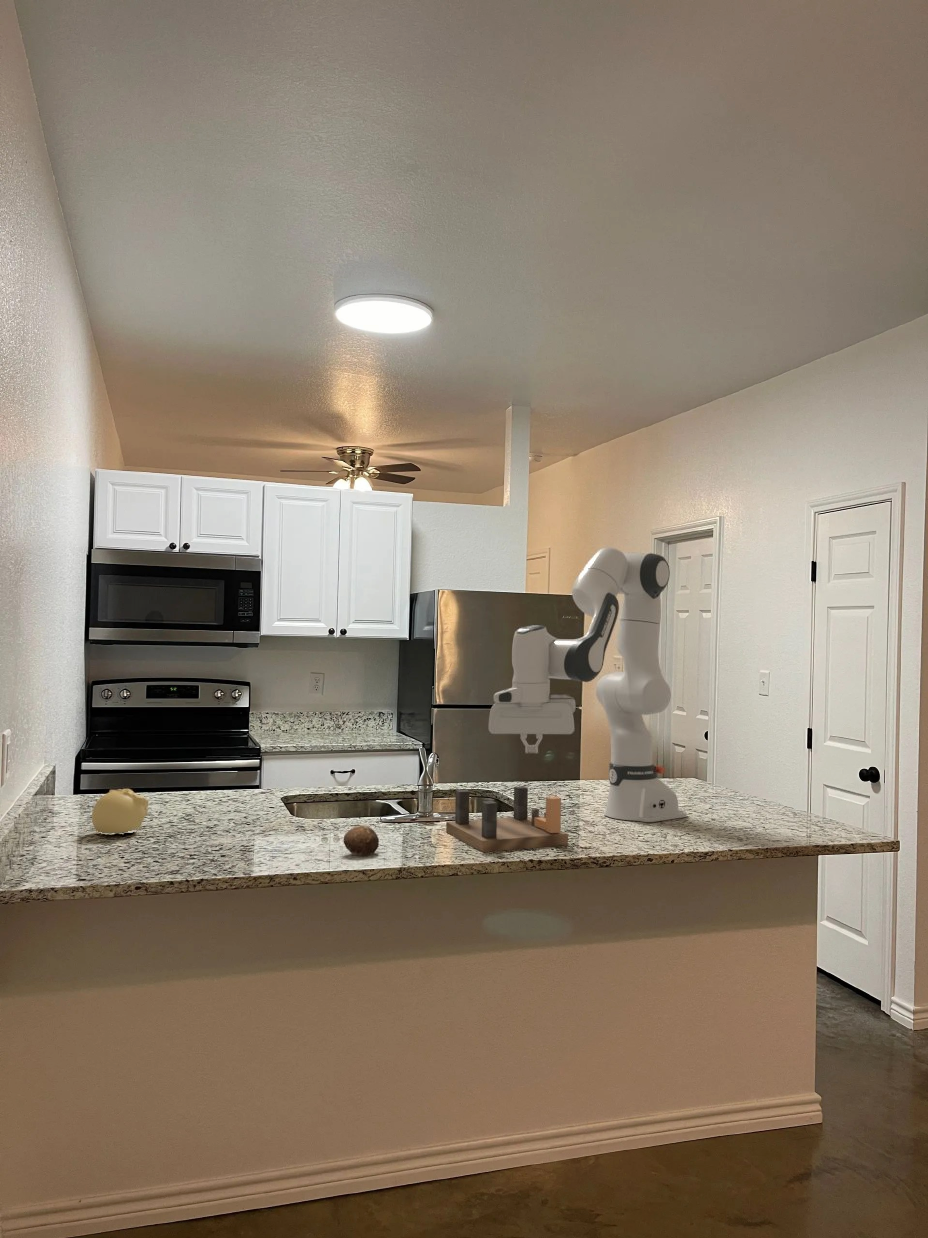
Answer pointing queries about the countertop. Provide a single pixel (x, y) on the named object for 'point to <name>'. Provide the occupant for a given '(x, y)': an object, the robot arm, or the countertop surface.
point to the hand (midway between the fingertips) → (531, 753)
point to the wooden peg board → (501, 826)
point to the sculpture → (119, 811)
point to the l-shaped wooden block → (550, 816)
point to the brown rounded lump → (361, 840)
